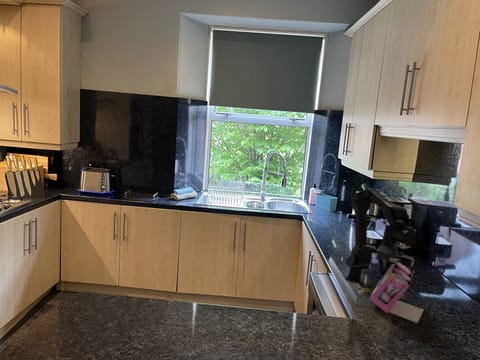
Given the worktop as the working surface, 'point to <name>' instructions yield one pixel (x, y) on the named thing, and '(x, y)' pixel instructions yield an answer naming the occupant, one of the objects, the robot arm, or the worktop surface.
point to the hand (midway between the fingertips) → (382, 275)
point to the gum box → (392, 286)
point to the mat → (406, 311)
